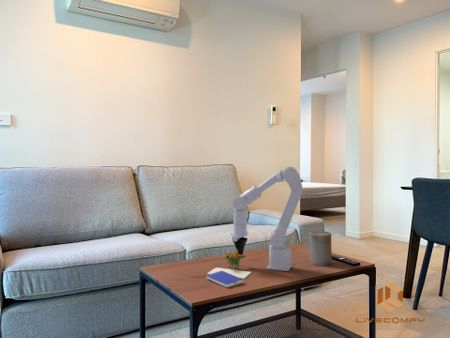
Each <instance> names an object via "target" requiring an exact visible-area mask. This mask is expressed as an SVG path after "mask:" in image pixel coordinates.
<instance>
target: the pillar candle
mask: <svg viewBox="0 0 450 338" xmlns="http://www.w3.org/2000/svg"><path fill="white" fill-rule="evenodd" d="M332 253H333V252H332V233H331V232H329V231H323V230H319V231H318V230H317V231H309V264H311V265H315V266H319V267H323V266H325V267H326V266H327V267H328V266H330V265H332V255H333V254H332Z"/></svg>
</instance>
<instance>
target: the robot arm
mask: <svg viewBox="0 0 450 338" xmlns="http://www.w3.org/2000/svg"><path fill="white" fill-rule="evenodd" d="M284 181H285V182H286V183H287V184H288V186H289V189H290V194H289V196H288V199H287V201H286V203H285V206H284V208H283V210H282V213H281V215H280V218H279V221H278V223H277V225H276V228H275V229H274V230H273V231H272V232H271V235H270V236H269V237H270V238H269V245H268V246H269V247H268V248H269V249H268V257H269V258H268V266H266V268H265V269H267V270H276V271H283V272H284V271H285V272H289V271H290V269H291V268H292V267H293V265H292V264H293V263H292V262H293V261H292V260H293V259H292V248H290V247H287V245H286V244H285V241H286V234H287V231H288V228H289V226H290V224H291V221H292V218H293V215H294V214H295V211H296V209H297V206H298V203H299V201H300V199H301V196H302V194H303V193H304V192H303V191H304V188H303V184H302V179H301V176H300V173H299V172H298V170H297V169H296V168H295V167H292V166H287V167H285V168H284V169H283V170H282V169H281V170H280V171H278V172H276V173H273V175H271V176H270V177H268V178H267V179H266V180H265V181H263V182H262V183H260V184H259V185H258V186H256V185H252V186H249V187H248V189H247V190H245V191H244V192H240V193H239V196H236V198H234V199H233V200H232V206H233V232H232V233H231V234H230V235H231V236H232V237H231V242H233V244H234V247H235V250H236V249H237V250H238V256H241V255H244V251H245V247H246V244H247V242H248V233H249V232H248V228H247V227H248V226H247V224H248V222H247V220H248V219H247V216H248V214H247V206H248V205H251V204H253V203H254V202H255V201H257V200H258V199H260V198H261V197H262V194H263V192H264V191H266V190H267V189H269V188H270V187H272V186H273V185H276V183H281V182H283V183H284Z"/></svg>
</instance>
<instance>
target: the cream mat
mask: <svg viewBox="0 0 450 338" xmlns="http://www.w3.org/2000/svg"><path fill="white" fill-rule="evenodd" d="M219 271H224V272H227V273H229V274H232V275H234V276H236V277H239V278H242V279H243V280H245V279H246V278H247V277H249V275H250V274H252V271H250V270H249V271H246V270H239V269H233V268H230V269H228V268H223V267H214V268H213V269H211V270H210V271H208V272H207V273H206V275H208V274H212V273H216V272H219Z"/></svg>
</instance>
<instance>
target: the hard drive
mask: <svg viewBox="0 0 450 338" xmlns="http://www.w3.org/2000/svg"><path fill="white" fill-rule="evenodd" d="M205 278H206V279H207V280H210V281H212V282H213V283H216V284H219V285H220V286H222V287H225V288H229V287H233V286H237V285H240V284H242V283H244V279H242V278H239V277H236V276H234V275H232V274H229V273H227V272H224V271H219V272H216V273H212V274H206V277H205Z"/></svg>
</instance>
